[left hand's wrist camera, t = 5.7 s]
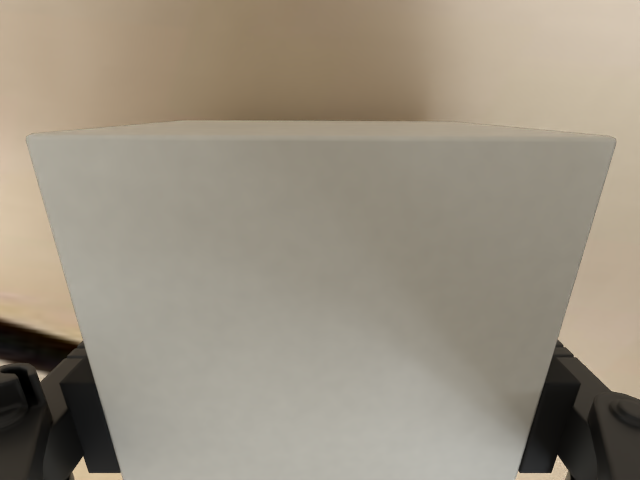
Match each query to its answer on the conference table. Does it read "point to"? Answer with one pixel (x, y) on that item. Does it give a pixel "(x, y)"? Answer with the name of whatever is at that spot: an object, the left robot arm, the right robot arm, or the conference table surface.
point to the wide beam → (319, 289)
